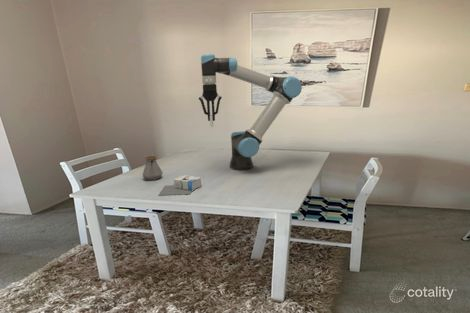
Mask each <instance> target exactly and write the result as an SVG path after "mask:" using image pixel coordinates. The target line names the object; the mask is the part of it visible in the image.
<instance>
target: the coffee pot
mask: <svg viewBox="0 0 470 313" xmlns="http://www.w3.org/2000/svg"><path fill="white" fill-rule="evenodd" d="M156 158H157V156H155V155H152V156H151V155H150V156H146V157H144V159H145V161H146V163H145V166H144V169H143V172H142V177H143V178H144V179H146V180H147V181H157V180H159V179H160V178H161V177H162V176H163V173H164V172H163V170H162V169H161V168H160V165H159V164H158V162H157V160H156Z"/></svg>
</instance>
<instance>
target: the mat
mask: <svg viewBox="0 0 470 313" xmlns="http://www.w3.org/2000/svg"><path fill="white" fill-rule="evenodd" d="M192 192H193V190H186V189H180V188H175V187H174V184H172V185H164V186H163V188H162V189H161V190H160V192H159V194H158V196H159V197H160V196H183V195H184V196H187V195H188V196H189V195H190V196H191V194H192Z"/></svg>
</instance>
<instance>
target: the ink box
mask: <svg viewBox="0 0 470 313" xmlns="http://www.w3.org/2000/svg"><path fill="white" fill-rule="evenodd" d="M201 178H202V177H200V176H192V175H185V174H183V175H180V176H178V177H176V178H174V179H173V185H174V187H175V188H180V189H186V190H192V191H194V190H196V189H198V188H200V187H201V186H202V179H201Z"/></svg>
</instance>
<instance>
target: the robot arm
mask: <svg viewBox="0 0 470 313" xmlns="http://www.w3.org/2000/svg"><path fill="white" fill-rule="evenodd" d="M200 62H201V63H200V64H201V80H202V82H201V83H202V84H203V85H202V95H201V96H200V97H198V100H199V101H200V104H201V107H202V110H203V113H204V115H206V116H207V121H208V122H209V127H210V128H214V122H215V121H216V119H215V118H216V115H217V114H218V113H219V108H220V103H221V99H222V98H223V97H222V96H221V95H219V94H218V92H217V91H218V90H217V74H222V75H224V76H228V77H231V78H234V79H237V80H240V81H243V82H246V83H249V84H252V85H255V86H256V87H257V86H258V87H260V88H264V89H265V91H267V92H270V93H272V94H273V96H272V97H271V99H270V100H269V101H268V103H267V104H266V106H265V107H264V109H263V110H262V112H261V113H260V114H259V116H258V117H257V119H256V120H255V122H254V123H253V124H252V125H251V127H250V128H249V129H245V130H244V131H233V132H231V134H230V142H231V158H230V162H229V168H230V169H232V170H234V171H235V170H237V171H243V170H250V169H252V168H253V167H254V162H253V160H252V158H253V157H255V156H256V155H257V154H258V153H259V151H260V145H262V144H261V143H262V142H263V136H264V135H265V134H266V133H267V131H268V129H269V128H270V126H271V125H272V124H273V122H274V121H275V120H276V119H277V117H278V116H279V114H280V113H281V112H282V110H283V109H284V107H285V106H286V105H289V104H291V102H292V101H293V100H294V98H296V97H299V96H300V95H301V92H302V88H303V87H302V83H301V80H300V79H298V78H297V77H295V76H283V77H282V76H275V75H272V74H271V75H270V76H269V75H266V74H264V73H261V72H258V71H256V70H252V69H251V68H248V67H244V66H241V65H238V60H237V59H236V57H221V58H220V57H216V56H215V54H212V53H207V54H205V53H204V54H202V55H201V58H200ZM216 99H217V101H216V102H217V103H216V107H215V100H216ZM204 100H205V101H206V105H205V102H204ZM210 102H211V104H210ZM210 106H211V107H210ZM215 108H216V109H215Z"/></svg>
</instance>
